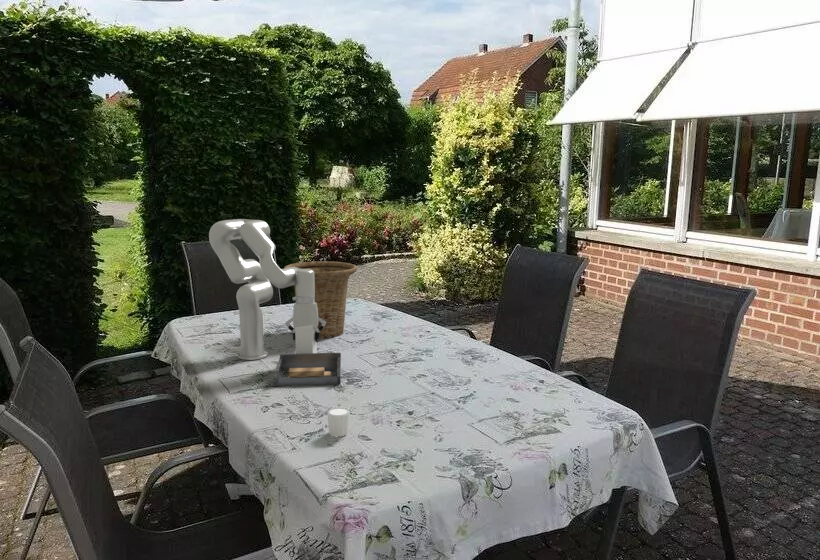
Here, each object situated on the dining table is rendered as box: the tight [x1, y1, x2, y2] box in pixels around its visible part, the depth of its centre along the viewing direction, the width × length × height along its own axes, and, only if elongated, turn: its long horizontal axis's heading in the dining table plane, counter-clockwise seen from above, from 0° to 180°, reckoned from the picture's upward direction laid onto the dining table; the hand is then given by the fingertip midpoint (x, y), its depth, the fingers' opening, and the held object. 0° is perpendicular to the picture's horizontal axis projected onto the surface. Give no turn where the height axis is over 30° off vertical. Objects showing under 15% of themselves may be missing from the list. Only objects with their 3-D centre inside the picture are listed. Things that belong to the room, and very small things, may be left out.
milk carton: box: [294, 325, 318, 354], centre depth 256 cm, size 7×7×19 cm
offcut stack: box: [288, 367, 332, 377], centre depth 235 cm, size 16×5×5 cm, turn 95°
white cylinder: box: [326, 407, 351, 437], centre depth 190 cm, size 7×7×7 cm
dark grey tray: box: [274, 352, 342, 387], centre depth 241 cm, size 24×18×7 cm
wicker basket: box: [283, 260, 358, 339], centre depth 304 cm, size 35×35×33 cm
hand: (306, 341), depth 256 cm, fingers closed on milk carton, 8 cm apart
